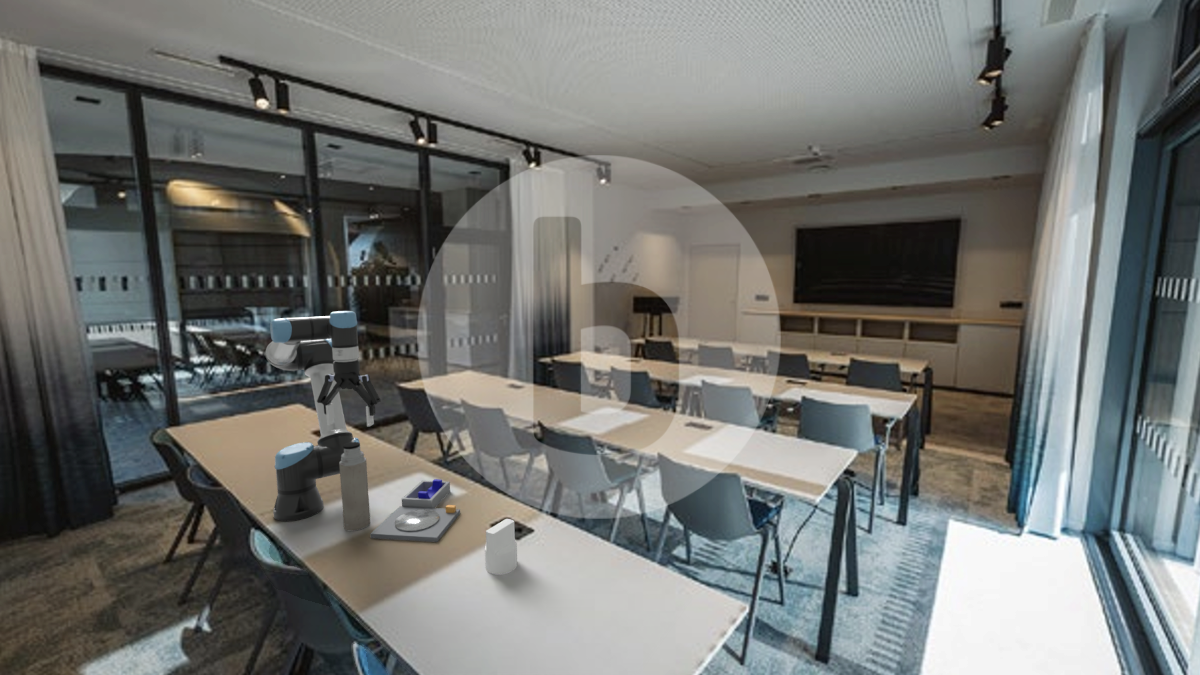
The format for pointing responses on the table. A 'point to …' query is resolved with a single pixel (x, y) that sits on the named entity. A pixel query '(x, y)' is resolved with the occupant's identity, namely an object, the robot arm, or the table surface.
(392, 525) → the rosette base
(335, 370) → the robot arm
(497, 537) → the cylinder with rectangular tab
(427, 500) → the desk organizer
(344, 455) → the thermos bottle
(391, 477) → the table surface
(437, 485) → the blue stepped block
